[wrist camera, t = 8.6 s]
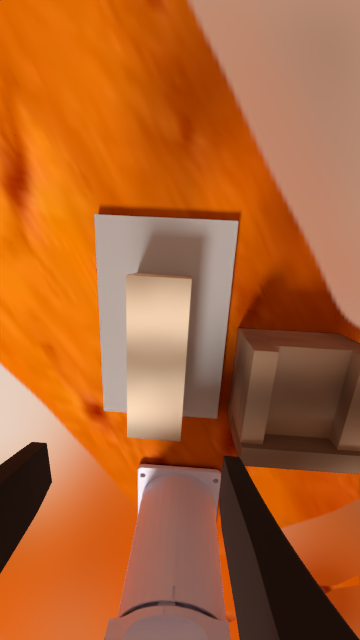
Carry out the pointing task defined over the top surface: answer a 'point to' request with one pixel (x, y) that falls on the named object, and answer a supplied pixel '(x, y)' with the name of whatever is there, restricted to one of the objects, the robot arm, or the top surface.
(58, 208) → the top surface
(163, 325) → the bar
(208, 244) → the mat
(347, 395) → the holder
